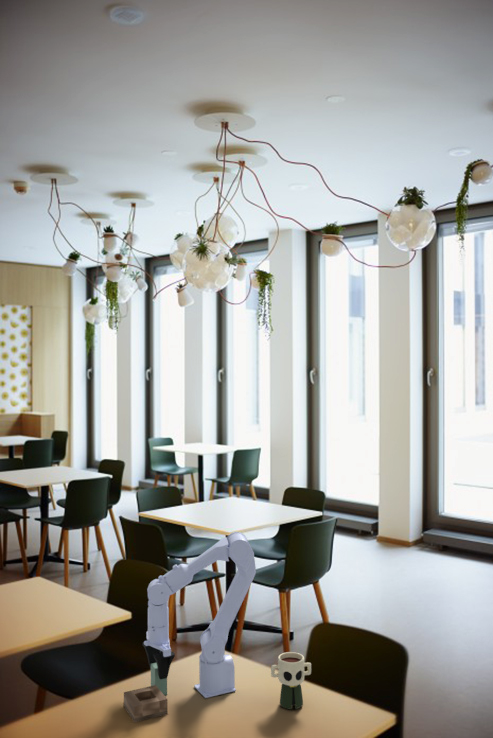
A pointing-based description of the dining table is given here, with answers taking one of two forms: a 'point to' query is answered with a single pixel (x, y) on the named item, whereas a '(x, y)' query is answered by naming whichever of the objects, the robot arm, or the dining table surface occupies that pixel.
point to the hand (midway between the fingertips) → (158, 672)
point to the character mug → (291, 678)
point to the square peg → (156, 681)
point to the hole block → (145, 703)
